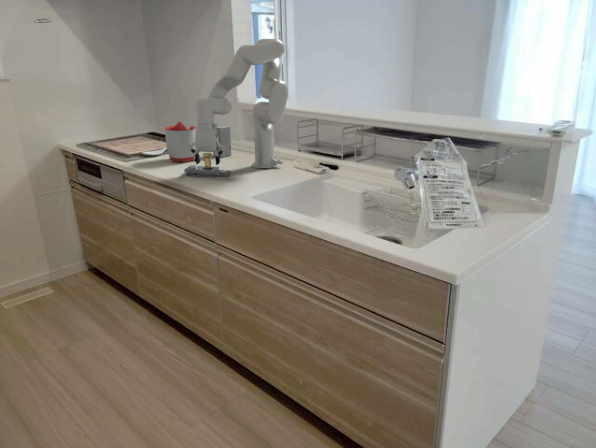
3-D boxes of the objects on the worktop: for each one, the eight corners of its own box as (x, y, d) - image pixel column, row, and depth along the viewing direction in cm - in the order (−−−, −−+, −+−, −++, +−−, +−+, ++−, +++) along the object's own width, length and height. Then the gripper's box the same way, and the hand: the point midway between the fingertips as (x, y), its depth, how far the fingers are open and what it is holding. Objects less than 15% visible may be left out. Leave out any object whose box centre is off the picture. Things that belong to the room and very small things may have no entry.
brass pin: (213, 173, 230) (212, 153, 227) (211, 176, 226) (210, 154, 223) (205, 173, 231) (204, 152, 227) (202, 175, 227) (201, 154, 224)
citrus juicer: (203, 157, 263) (202, 119, 256) (188, 164, 247) (186, 124, 240) (177, 155, 267) (175, 118, 260) (161, 162, 251) (157, 122, 244)
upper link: (219, 173, 232) (218, 165, 230) (213, 177, 224) (213, 169, 223) (190, 171, 234) (190, 163, 232) (184, 175, 226) (184, 167, 225)
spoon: (197, 150, 281) (197, 144, 280) (148, 158, 259) (147, 152, 258) (188, 147, 287) (187, 142, 286) (139, 156, 265) (138, 149, 264)
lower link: (231, 173, 231) (231, 169, 230) (226, 178, 223) (226, 173, 223) (202, 172, 233) (202, 167, 232) (197, 176, 225) (196, 171, 225)
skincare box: (221, 157, 262) (220, 128, 257) (212, 156, 266) (210, 126, 261) (232, 155, 269) (231, 126, 263) (223, 153, 273) (222, 125, 267)
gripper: (226, 126, 223) (228, 162, 229) (190, 124, 225) (192, 161, 231) (221, 128, 216) (223, 166, 222) (184, 127, 219) (186, 164, 224)
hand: (207, 163), depth 227 cm, fingers open, 9 cm apart
